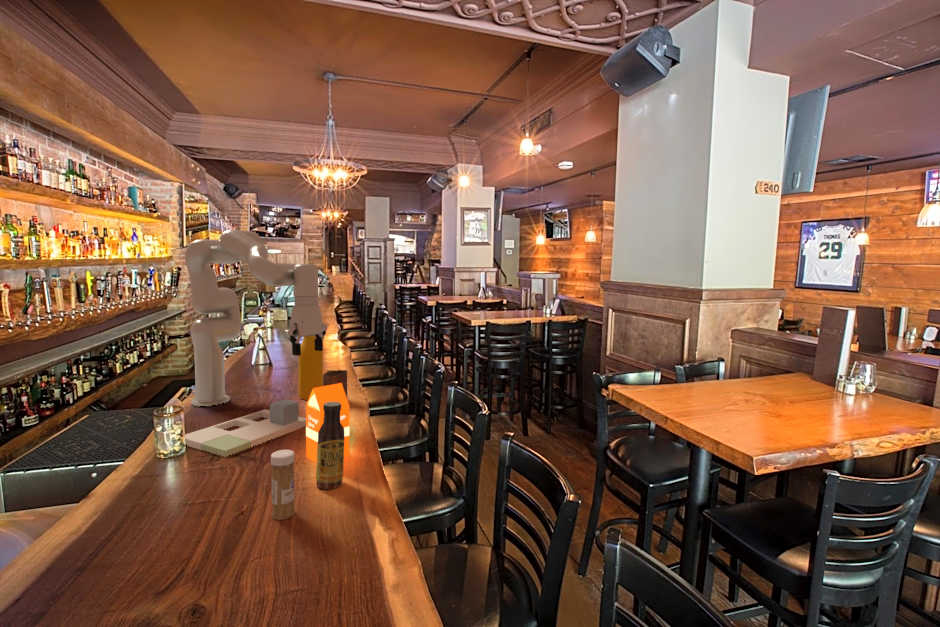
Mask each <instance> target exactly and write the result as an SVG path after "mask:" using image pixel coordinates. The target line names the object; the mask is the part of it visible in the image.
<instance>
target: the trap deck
mask: <svg viewBox="0 0 940 627" xmlns="http://www.w3.org/2000/svg"><path fill="white" fill-rule="evenodd" d="M260 417H261V418H262V417H264V418H263V420H260V421H256V420H258V419H261V418H260ZM257 418H258V419H257ZM266 418H268V419H266ZM254 419H255V420H254ZM233 426H234V427H237V426H239V427H238V428H237V429H234V430H233V429H232V430H228V429H231V428H234V427H233ZM230 427H231V428H230ZM304 427H305V428H306V417H302V416H298V421H295V422H292V423H289V424H287V425H284V426H283V425H279V424H275V423H271V422H270V409H266V408H265V409H261V410H260V411H259V410H258V411H256V412H252V413H248V414H246V415H244V416H240V417H236V418H233V419H231V420H227V421H224V422H221V423H217V424H214V425H212V426H208V427H204V428H202V429H198V430H195V431H191V432H189V433H186V434H184V435H185V441H186V444H187V447H189V448H191V449H192V448H193V449H195V450H199V451H202V450H203V451H202V452H205V451H207V452H206V453H208V452H210V453H209V454H212V453H213V455H215V454H217V455H216V456H218V455H221V456H220V457H222V456H223V457H222V458H225V457H226V458H228V457H230V456H229V455H231V456H233V455H235V453H236V454H238V453H240V452H239V451H241V452H243V451H246V450H248V449H247V448H249V449H251V448H253V446H254V447H256V446H258V444H259V445H261V444H264V443H267V442H269V441H272V440H274V439H276V437H277V438H279V437H282V436H284V435H287V434H290V433H291V432H295V431H298V430H300V429H303V428H304ZM227 428H228V429H227ZM224 429H225V430H224ZM271 439H272V440H271ZM268 440H269V441H268ZM266 441H267V442H266ZM263 442H264V443H263ZM255 445H256V446H255ZM250 447H251V448H250ZM245 449H246V450H245ZM242 450H243V451H242ZM237 452H238V453H237ZM232 454H233V455H232ZM227 456H228V457H227Z"/></svg>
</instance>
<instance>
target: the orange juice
mask: <svg viewBox="0 0 940 627" xmlns="http://www.w3.org/2000/svg"><path fill="white" fill-rule="evenodd" d="M326 402H339V403H341V410H340V423H341V424H342V426H343V428H344V459H346V458H348V457H350V431H351V430H350V403H349V400H348V396H347V397H346V395H345V392H344V389H343V386H342V383H338V384H333V385H328V386H322V387H317V388H313V390H312V392H311V395H310V397H309V400H307V402H306V405H305V418H306V426H305V439H306V440H305V443H306V444H305V445H306V446H305V448H306V451H305V452H306V453H305V455H306V458H307V459H308V460H310V461H311V462H313V463H316V464H317V443H318V432H319V430H320V428H321V426H322V424H323V422H324V421H323V420H324V410H323V406H324V403H326Z"/></svg>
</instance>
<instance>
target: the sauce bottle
mask: <svg viewBox="0 0 940 627" xmlns="http://www.w3.org/2000/svg"><path fill="white" fill-rule="evenodd" d="M323 410H324V420H323V421H324V422H323V424H322V426H321V428H320V430H319V432H318V443H317V463H316V467H315V468H316V469H315V470H316V472H315V479H316V484H315V485H316V486H317V488H319V489H322V490H333V489H335V488H338V487H340V486H341V485H342V483H343V478H344V467H345V466H344V462H345V458H344V428H343V426H342V424H341V423H340V410H341V403H339V402H326V403H324V406H323Z"/></svg>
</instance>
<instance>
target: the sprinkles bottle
mask: <svg viewBox="0 0 940 627" xmlns="http://www.w3.org/2000/svg"><path fill="white" fill-rule="evenodd" d="M295 457H296V456H295V452H294V450H292V449H279V450H276V451H274V452H272V453H271V455H270V464H271V503H272V513H271V517H272V519H274V520H279V521H281V520H287V519H289V518H291V517H292V516H294V514H295V513H296V511H295V509H296V508H295V474H294V473H295V468H294V467H295V466H294V465H295V464H294V463H295V459H296V458H295Z"/></svg>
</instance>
